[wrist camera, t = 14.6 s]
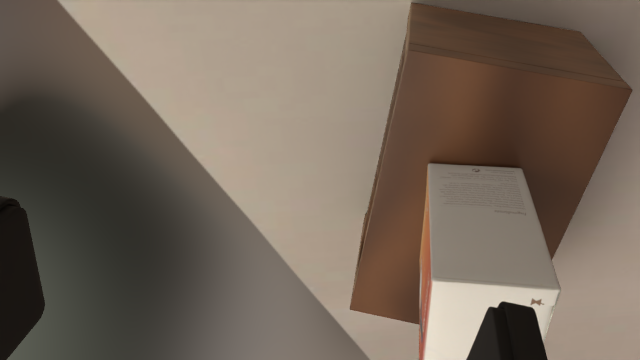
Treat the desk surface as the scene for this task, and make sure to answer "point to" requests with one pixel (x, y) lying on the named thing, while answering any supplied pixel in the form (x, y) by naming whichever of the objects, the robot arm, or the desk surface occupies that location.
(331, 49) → the desk surface
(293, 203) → the desk surface
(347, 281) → the desk surface
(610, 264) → the desk surface
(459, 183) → the small box
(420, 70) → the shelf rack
